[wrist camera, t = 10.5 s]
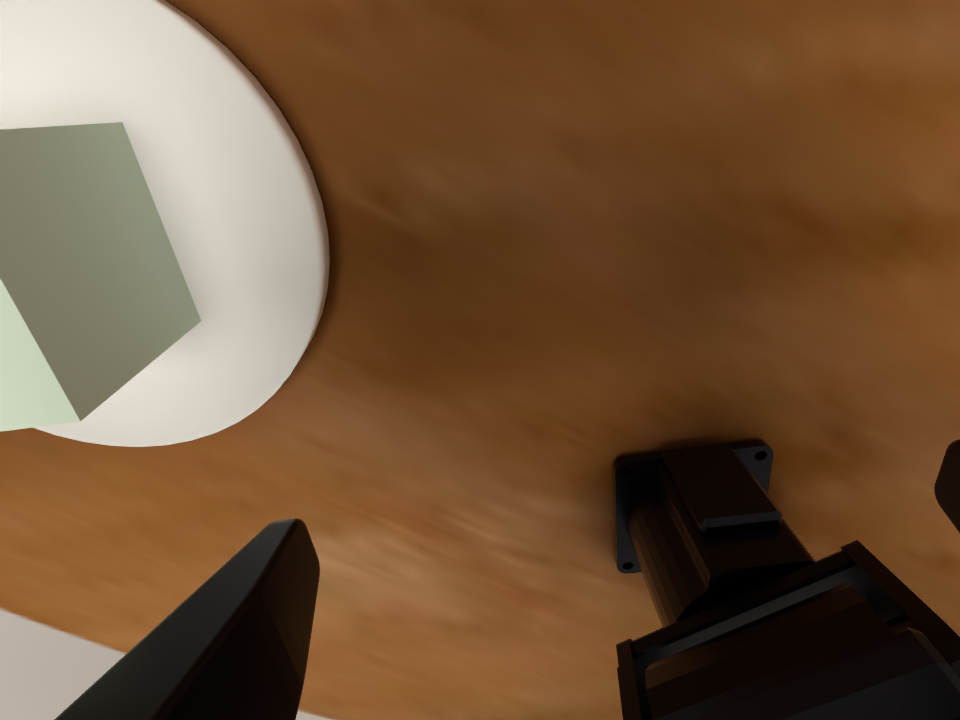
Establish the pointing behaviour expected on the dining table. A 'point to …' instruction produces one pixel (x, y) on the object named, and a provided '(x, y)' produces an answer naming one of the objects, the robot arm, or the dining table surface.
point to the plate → (184, 200)
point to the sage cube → (80, 273)
